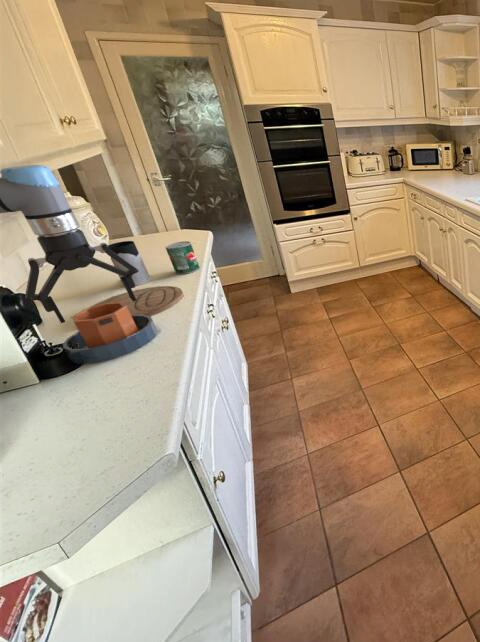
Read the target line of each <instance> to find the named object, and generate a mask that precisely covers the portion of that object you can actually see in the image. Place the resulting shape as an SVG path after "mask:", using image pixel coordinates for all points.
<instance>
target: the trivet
mask: <svg viewBox="0 0 480 642" xmlns="http://www.w3.org/2000/svg"><path fill="white" fill-rule="evenodd" d="M132 292H133V294H134V296H135V298H136V301H132V300H131V299H130V297H129V294H128V292H127V291H126V292H123V293H120V294H117V295H114V296H111V297H109V298H106V299H104V300H100V301H98V302H97V303H95V304H93V305H91V306H89V307H88V308H91V307H94V306H98V305H101V304H105V303H114V302H124V304H125V305H126V306H127V308H128V310H129V312H130V314H131V315H147V316H150V317H152V316H155V315H158V314H160V313H162V312H164V311H166V310H169V309H171V308H172V307H174V306H175V305H177V304H179V303H180V302H181V301H182V300H183V298H185V294H184V292H183V290H182V289H181V288H180V287H178V286H170V285H160V286H152V287H145V288H140V289H135V290H132Z"/></svg>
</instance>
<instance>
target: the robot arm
mask: <svg viewBox="0 0 480 642" xmlns="http://www.w3.org/2000/svg"><path fill="white" fill-rule="evenodd" d="M16 212H21V213H22V214H23V216H24V218H25V221H26V222H27V223H28V225H29V227H30V229H31V231H32V232H33V234H34V235H35V236H37V238H36V240H37V241H38V243H39V245H40V247H41V250H43V253H44V255H45V256H44V257H39V258H33V257H30V258H28V259H27V262H28V266H29V268H30V269H29V274H28V279H27V284H26V289H25V294H24V297H25V300H26V301H27V302H33V301H34V302H35V301H37V302H38V301H39V302H40V303H41V305H42V307H43V309H44V310H45V312H47V313H51V312H54V313H55V316H56V318H57V319H58V321H59V322H60V324H64V323H66V320H65V318H64V316H63V315H62V313H61V311H60V309H59V308H58V306H57V304H56V303H55V301H54V299H53V298H52V296H51V295H50V294H51V291H52V290H53V288H54V287H55V286H56V283H57V282H58V280H59V278H60V277H61V276H62V275H63V273H64V272H65V271H69V272H71V271H74V270H77V269H83V268H87V267H88V266H89V265H92V266H95V267H98V268H101V269H104V270H106V271H108V272H110V273H114V274H116V275H118V274H119V275H121V276H123V277H119V279H120V278H121V279H120V281H121V280H122V281H121V283H122V282H123V284H124V286H125V287H124V288H125V290H126V293H127V292H128V294H129V297H130V299H131V300H132V301H136V298H135V296H134V294H133V292H132V291H133V289H136V285H135V283H134V281H133V279H132V275H133V274H135V273H138V269H137V268H135V267H134V266H133V265H131V264H130V263H128V262H127V261H125V260H124V259H123V258H121V257H120V256H118V255H117V254H115V253H114V252H113V251H112V250H111V249H110V247H109V246H108V245H109V244H107V243H106V242H101V243H100V244H99V245H95V246H91V245H90V243H89V242H88V239H87V237H86V236H85V234H84V231H83V230H82V229H79V228H80V227H81V225H80V223H79V222H78V220H77V217H76V215H75V214H74V211H73V210H72V208H71V206H70V204H69V202H68V200H67V198H66V195H65V193H64V191H63V189H62V187H61V184H60V183H59V181H58V180H57V178H56V176H55V175H54V173H53V171H52V170H51V168H50V167H48V166H47V165H43V164H27V165H19V166H9V167H4V168H2V169H0V214H7V213H16ZM96 252H99V253H100V254H106V255H108V257H110V259H111V258H113V259H114V260H116V261H117V262H119V263H120V264H122V265H123V266H124V267H126V268H127V269H129V270H127V271H124V270H122V269H120V268H117V267H115V266H114V265H113V264H110V263H107V262H104V261H102V260H100V259H98V258H95V257H94V256H95V254H96ZM46 263H47V264H50V265H52V266H53V268H52V269H51V272H50V274H49V275H48V277H47V278H46V280H45V282H44V284H43V285H42V286H41V288H40V291H39V292H38V293H36V291H37V286H38V281H39V275H40V269H41V268H43V267H44V265H45V264H46ZM119 275H118V276H119Z"/></svg>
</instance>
